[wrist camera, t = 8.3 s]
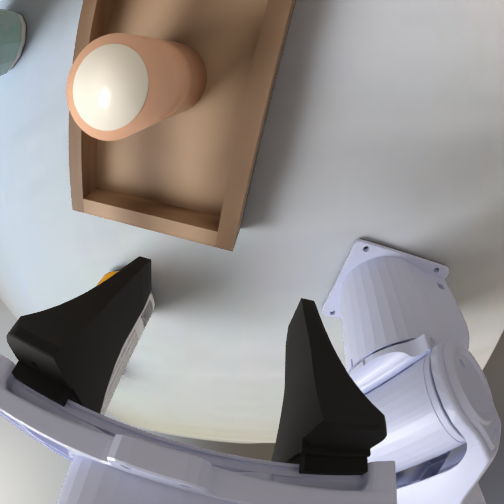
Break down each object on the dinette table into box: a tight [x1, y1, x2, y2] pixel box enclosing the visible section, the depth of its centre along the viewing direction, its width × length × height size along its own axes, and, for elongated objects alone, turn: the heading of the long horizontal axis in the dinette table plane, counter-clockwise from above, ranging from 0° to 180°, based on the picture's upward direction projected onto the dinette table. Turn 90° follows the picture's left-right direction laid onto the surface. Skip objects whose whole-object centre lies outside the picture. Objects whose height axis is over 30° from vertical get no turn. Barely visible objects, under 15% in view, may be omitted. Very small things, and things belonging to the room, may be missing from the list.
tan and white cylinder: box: [67, 33, 207, 141], centre depth 13 cm, size 5×5×7 cm
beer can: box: [97, 271, 155, 415], centre depth 22 cm, size 6×6×15 cm
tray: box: [69, 0, 296, 251], centre depth 16 cm, size 13×20×3 cm, turn 168°
